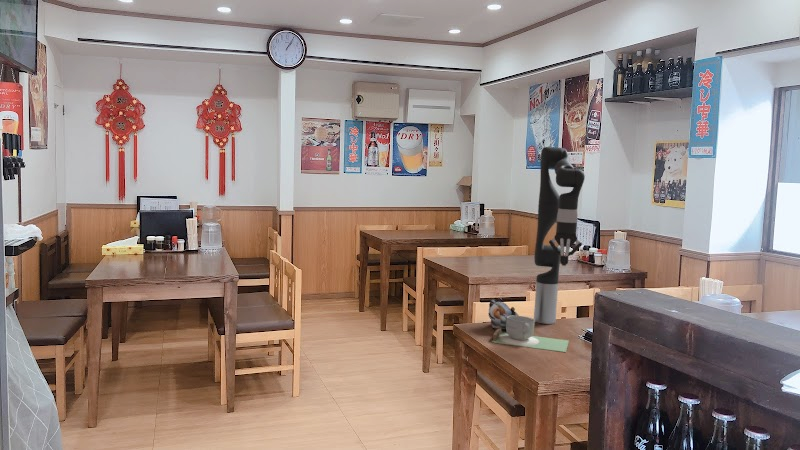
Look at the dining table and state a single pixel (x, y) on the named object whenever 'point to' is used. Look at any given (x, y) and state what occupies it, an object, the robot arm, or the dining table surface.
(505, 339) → the putting green
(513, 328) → the teacup
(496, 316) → the lucky cat figurine
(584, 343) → the dining table surface
